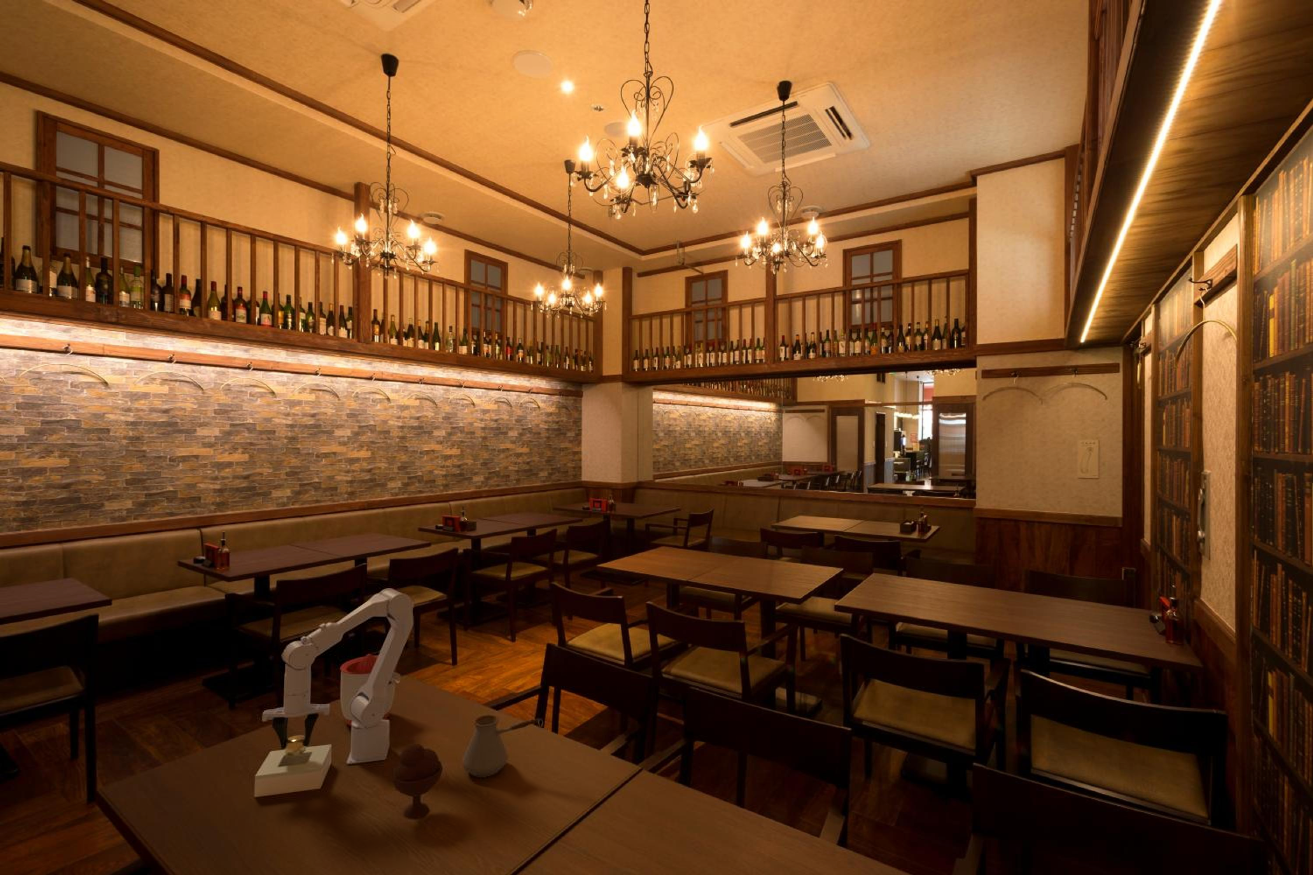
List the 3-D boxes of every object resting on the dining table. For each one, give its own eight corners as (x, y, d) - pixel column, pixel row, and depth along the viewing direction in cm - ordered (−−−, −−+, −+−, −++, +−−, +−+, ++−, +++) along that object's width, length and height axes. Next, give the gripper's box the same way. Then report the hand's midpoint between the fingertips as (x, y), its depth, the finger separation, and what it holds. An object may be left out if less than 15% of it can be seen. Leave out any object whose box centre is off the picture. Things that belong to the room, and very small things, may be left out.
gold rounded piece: (310, 748, 153) (310, 736, 153) (296, 756, 148) (296, 744, 148) (294, 745, 154) (295, 734, 154) (280, 754, 149) (280, 742, 149)
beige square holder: (330, 763, 159) (331, 744, 159) (320, 788, 147) (321, 767, 147) (270, 770, 155) (270, 751, 155) (254, 796, 143) (255, 775, 143)
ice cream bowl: (393, 831, 132) (395, 762, 132) (389, 803, 142) (391, 739, 142) (444, 818, 137) (445, 751, 137) (437, 792, 146) (438, 730, 147)
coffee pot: (453, 777, 153) (454, 718, 153) (476, 755, 164) (477, 700, 165) (531, 789, 149) (533, 728, 149) (549, 766, 160) (550, 709, 160)
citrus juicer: (387, 731, 177) (389, 663, 177) (328, 731, 176) (330, 662, 177) (408, 708, 192) (410, 645, 193) (353, 707, 192) (355, 644, 192)
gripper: (332, 682, 157) (331, 734, 157) (269, 687, 153) (267, 741, 153) (327, 692, 151) (325, 747, 150) (260, 698, 146) (258, 755, 146)
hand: (295, 745), depth 151 cm, fingers closed on gold rounded piece, 4 cm apart
